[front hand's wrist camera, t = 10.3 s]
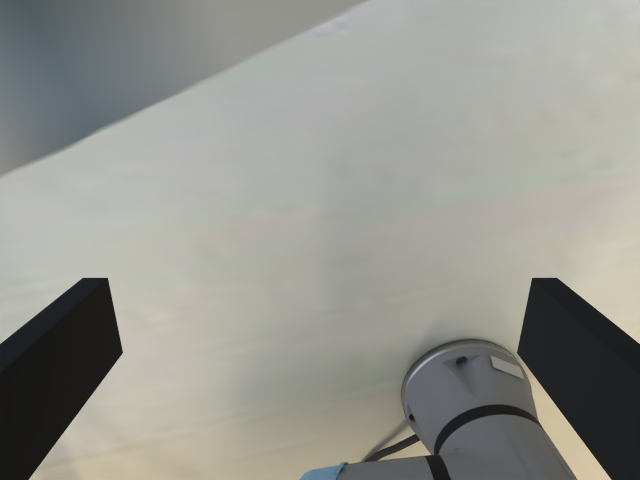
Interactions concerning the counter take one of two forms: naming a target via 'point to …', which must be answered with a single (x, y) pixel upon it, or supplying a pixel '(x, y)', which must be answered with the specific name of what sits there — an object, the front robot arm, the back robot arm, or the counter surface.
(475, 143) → the counter surface
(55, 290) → the counter surface
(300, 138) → the counter surface
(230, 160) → the counter surface
